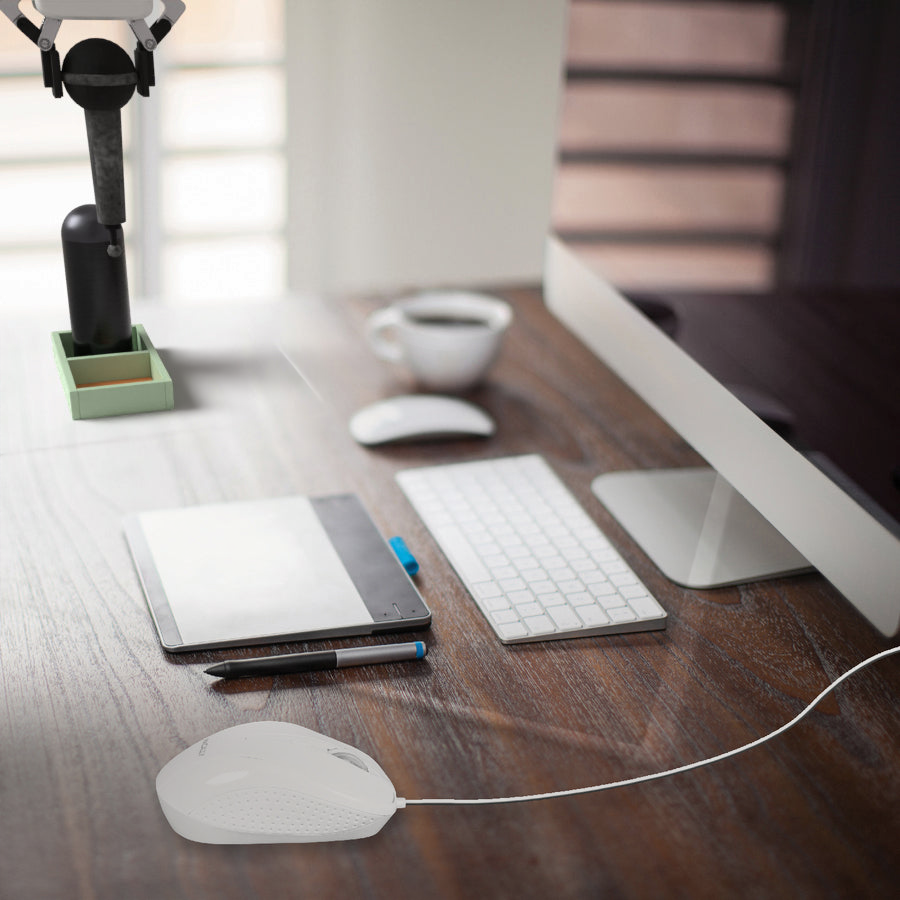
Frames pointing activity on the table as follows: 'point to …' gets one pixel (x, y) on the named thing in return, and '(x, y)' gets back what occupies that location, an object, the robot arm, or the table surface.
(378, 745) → the table surface
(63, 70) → the microphone
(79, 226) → the black domed cylinder
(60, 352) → the mic rack
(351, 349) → the table surface
